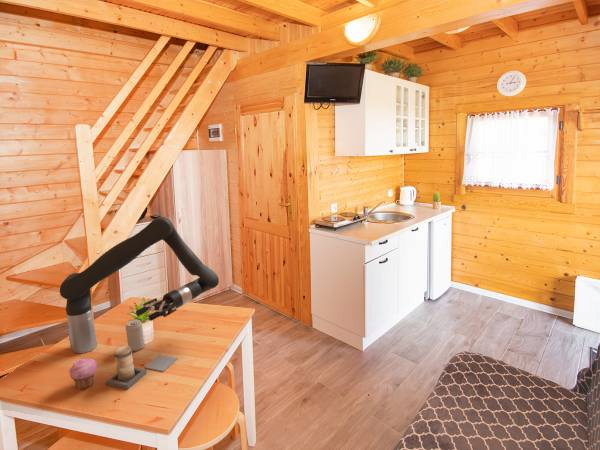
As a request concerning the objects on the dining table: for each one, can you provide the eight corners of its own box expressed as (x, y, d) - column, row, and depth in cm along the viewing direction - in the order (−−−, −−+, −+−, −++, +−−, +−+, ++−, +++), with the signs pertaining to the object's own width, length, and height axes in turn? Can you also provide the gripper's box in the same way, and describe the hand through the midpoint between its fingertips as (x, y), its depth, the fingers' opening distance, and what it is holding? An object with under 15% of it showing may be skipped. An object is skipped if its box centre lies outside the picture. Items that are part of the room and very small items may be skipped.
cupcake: (75, 380, 137) (70, 356, 135) (101, 375, 140) (97, 351, 138) (70, 395, 129) (65, 370, 127) (97, 389, 132) (93, 364, 130)
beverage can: (129, 353, 155) (125, 327, 152) (128, 346, 160) (124, 321, 158) (145, 349, 157) (142, 323, 155) (144, 342, 163) (140, 317, 160)
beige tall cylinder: (114, 382, 136) (110, 353, 133) (126, 373, 141) (122, 344, 139) (127, 385, 134) (123, 355, 131) (138, 375, 139) (135, 347, 137)
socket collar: (106, 384, 135) (106, 380, 134) (126, 369, 143) (125, 365, 143) (128, 389, 132) (127, 385, 131) (146, 373, 141) (146, 369, 140)
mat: (144, 368, 144) (144, 367, 144) (159, 355, 152) (159, 354, 152) (163, 371, 141) (163, 370, 141) (177, 358, 150) (177, 357, 150)
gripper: (165, 286, 157) (130, 303, 144) (187, 292, 148) (151, 311, 136) (169, 302, 159) (134, 320, 146) (190, 309, 150) (155, 329, 138)
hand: (143, 316), depth 141 cm, fingers open, 8 cm apart
